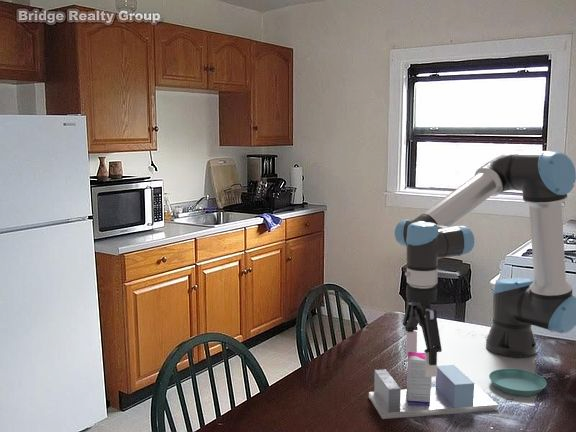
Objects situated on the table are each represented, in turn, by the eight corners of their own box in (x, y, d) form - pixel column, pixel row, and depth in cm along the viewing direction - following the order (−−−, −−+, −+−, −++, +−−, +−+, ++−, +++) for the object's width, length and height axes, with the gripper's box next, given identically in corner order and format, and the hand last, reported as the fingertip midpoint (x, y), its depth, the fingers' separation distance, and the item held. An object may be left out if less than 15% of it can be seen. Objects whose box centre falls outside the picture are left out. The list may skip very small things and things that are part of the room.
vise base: (475, 389, 158) (476, 363, 157) (497, 410, 146) (498, 381, 145) (368, 397, 154) (369, 370, 153) (382, 418, 142) (382, 389, 141)
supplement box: (431, 404, 146) (432, 360, 145) (407, 403, 147) (408, 359, 146) (428, 394, 152) (430, 352, 150) (405, 393, 153) (406, 351, 151)
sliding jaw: (453, 386, 157) (453, 364, 156) (473, 406, 145) (474, 383, 144) (435, 387, 156) (436, 365, 155) (454, 407, 144) (455, 384, 144)
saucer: (503, 372, 170) (503, 364, 170) (555, 387, 160) (555, 378, 159) (478, 388, 160) (479, 378, 159) (532, 405, 149) (532, 395, 149)
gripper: (391, 273, 157) (391, 348, 160) (425, 299, 132) (424, 387, 136) (418, 271, 158) (417, 346, 161) (457, 297, 134) (455, 384, 137)
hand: (420, 365), depth 148 cm, fingers open, 13 cm apart
